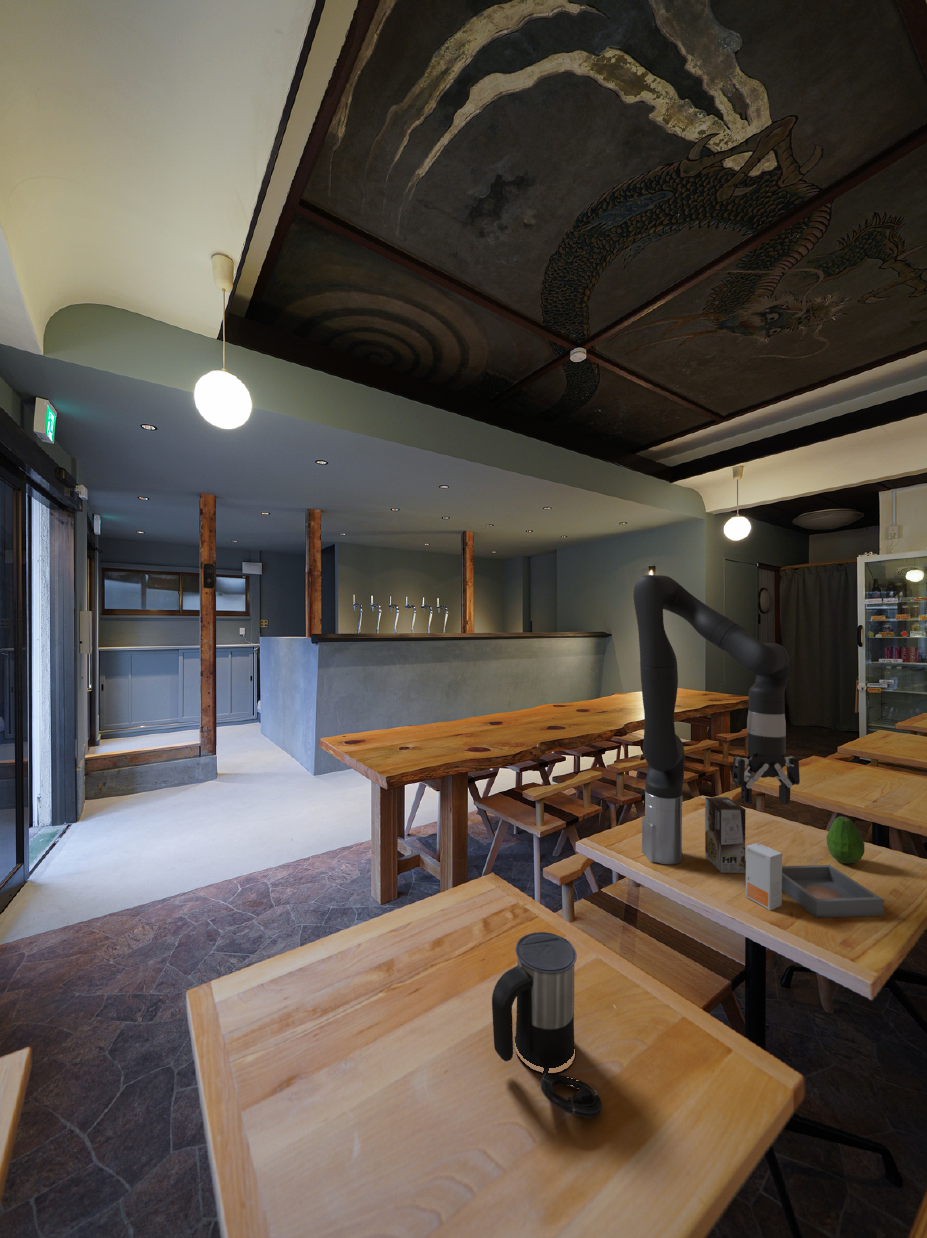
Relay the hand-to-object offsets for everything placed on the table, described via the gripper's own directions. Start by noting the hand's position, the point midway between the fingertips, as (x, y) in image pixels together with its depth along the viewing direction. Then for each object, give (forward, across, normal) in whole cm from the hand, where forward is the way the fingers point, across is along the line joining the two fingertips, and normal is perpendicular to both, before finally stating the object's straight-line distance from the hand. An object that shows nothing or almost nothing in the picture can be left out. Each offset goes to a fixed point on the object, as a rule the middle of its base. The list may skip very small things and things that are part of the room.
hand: (765, 803), depth 115 cm
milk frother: (+22, -58, -40) cm, 73 cm away
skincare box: (+22, -1, 0) cm, 22 cm away
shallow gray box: (+22, +14, +1) cm, 26 cm away
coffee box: (+22, 0, +17) cm, 28 cm away
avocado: (+22, +32, +16) cm, 42 cm away
